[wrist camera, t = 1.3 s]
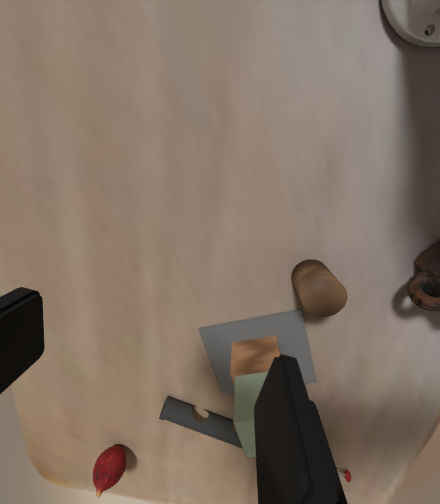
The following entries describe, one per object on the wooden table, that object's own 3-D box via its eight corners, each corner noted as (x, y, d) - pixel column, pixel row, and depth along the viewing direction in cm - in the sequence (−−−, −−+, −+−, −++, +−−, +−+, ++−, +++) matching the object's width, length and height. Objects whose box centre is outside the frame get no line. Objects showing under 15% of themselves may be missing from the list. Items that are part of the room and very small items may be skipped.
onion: (101, 438, 48) (75, 487, 40) (125, 434, 47) (102, 484, 39) (114, 455, 50) (91, 506, 42) (137, 452, 48) (118, 504, 41)
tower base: (275, 335, 35) (282, 366, 29) (284, 369, 37) (292, 405, 31) (232, 342, 36) (230, 374, 31) (242, 375, 38) (243, 410, 33)
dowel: (325, 255, 31) (344, 274, 25) (330, 287, 32) (349, 312, 26) (288, 264, 31) (298, 284, 26) (294, 295, 33) (305, 320, 27)
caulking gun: (175, 381, 38) (154, 429, 39) (373, 457, 40) (346, 500, 41) (179, 366, 42) (161, 410, 43) (359, 435, 43) (336, 475, 45)
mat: (301, 309, 34) (301, 310, 33) (315, 380, 38) (316, 382, 37) (199, 328, 36) (198, 329, 36) (222, 392, 40) (222, 394, 40)
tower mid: (279, 370, 30) (288, 416, 24) (288, 403, 31) (298, 453, 26) (234, 376, 31) (233, 422, 25) (245, 408, 32) (246, 457, 27)
